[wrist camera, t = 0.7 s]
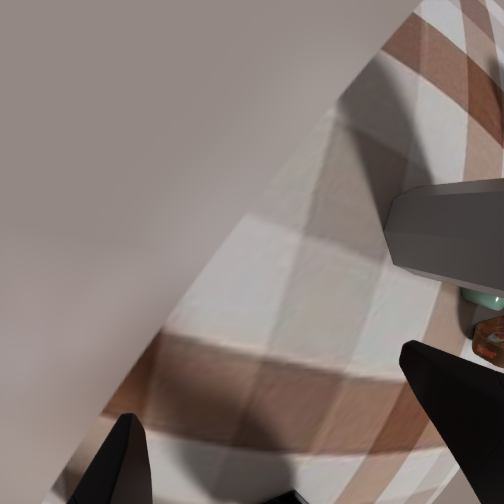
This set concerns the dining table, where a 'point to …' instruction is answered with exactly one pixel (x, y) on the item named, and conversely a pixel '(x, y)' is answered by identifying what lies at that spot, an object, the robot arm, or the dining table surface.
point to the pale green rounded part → (483, 299)
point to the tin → (490, 341)
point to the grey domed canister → (451, 234)
